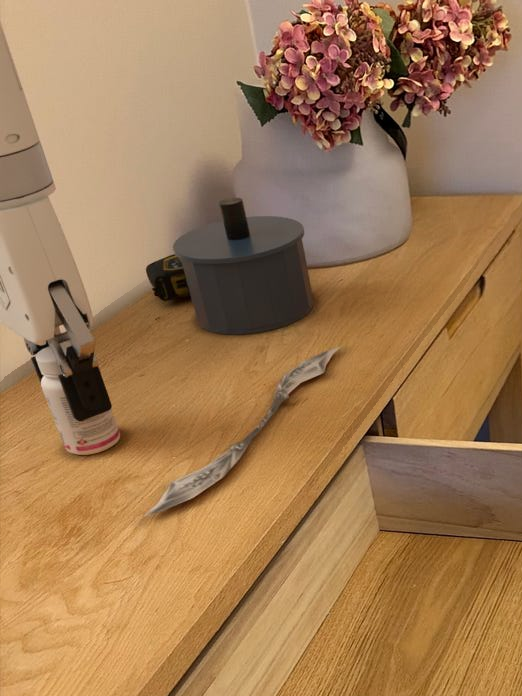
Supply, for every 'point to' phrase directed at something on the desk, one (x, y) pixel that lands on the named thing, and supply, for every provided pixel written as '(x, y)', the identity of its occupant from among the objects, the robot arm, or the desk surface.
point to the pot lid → (238, 237)
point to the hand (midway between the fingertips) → (79, 403)
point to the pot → (251, 292)
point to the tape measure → (168, 278)
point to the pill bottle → (74, 434)
